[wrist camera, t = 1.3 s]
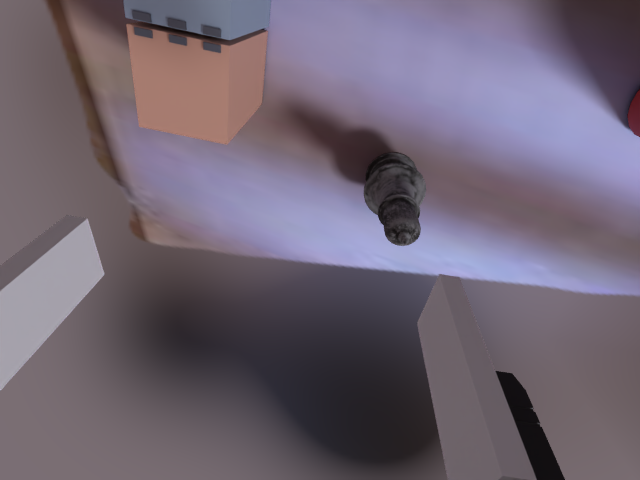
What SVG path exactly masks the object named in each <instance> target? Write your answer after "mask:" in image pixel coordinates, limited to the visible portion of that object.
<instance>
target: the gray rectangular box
mask: <svg viewBox="0 0 640 480" xmlns="http://www.w3.org/2000/svg"><path fill="white" fill-rule="evenodd" d="M123 2H124V10H125V18H129V19H134V20H138V21H143V22H148V23H152V24H157V25H161V26H166V27H171V28H175V29H180V30H185V31H189V32H194V33H198V34H203V35H208V36H212V37H217V38H222V39H226V40H232V39H235V38H238V37H241V36H243V35H246V34H249V33H252V32H255V31H258V30H260V29H263V28H266V27H269V18H270V6H271V0H123Z"/></svg>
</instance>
